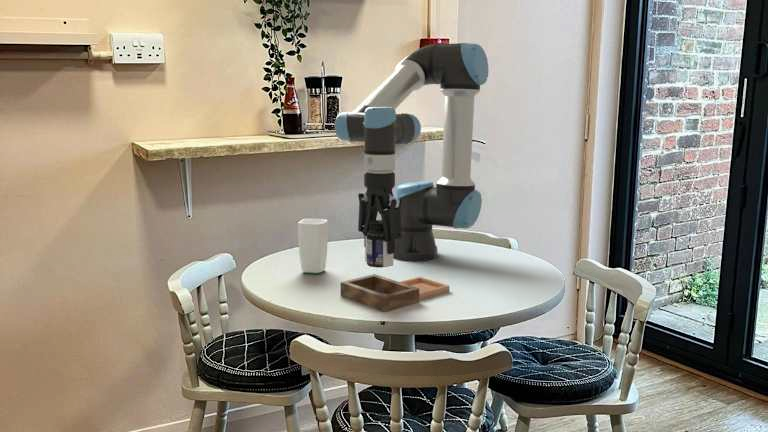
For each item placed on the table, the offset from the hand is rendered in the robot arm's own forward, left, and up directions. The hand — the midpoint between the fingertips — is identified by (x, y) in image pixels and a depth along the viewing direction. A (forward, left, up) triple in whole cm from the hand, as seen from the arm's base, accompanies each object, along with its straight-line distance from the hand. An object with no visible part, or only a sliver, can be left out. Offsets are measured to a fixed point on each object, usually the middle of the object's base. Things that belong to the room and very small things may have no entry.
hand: (379, 263), depth 169 cm
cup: (-31, +2, -10) cm, 33 cm away
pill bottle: (0, 0, -1) cm, 1 cm away
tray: (+2, +12, -9) cm, 16 cm away
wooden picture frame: (0, 0, -9) cm, 9 cm away
